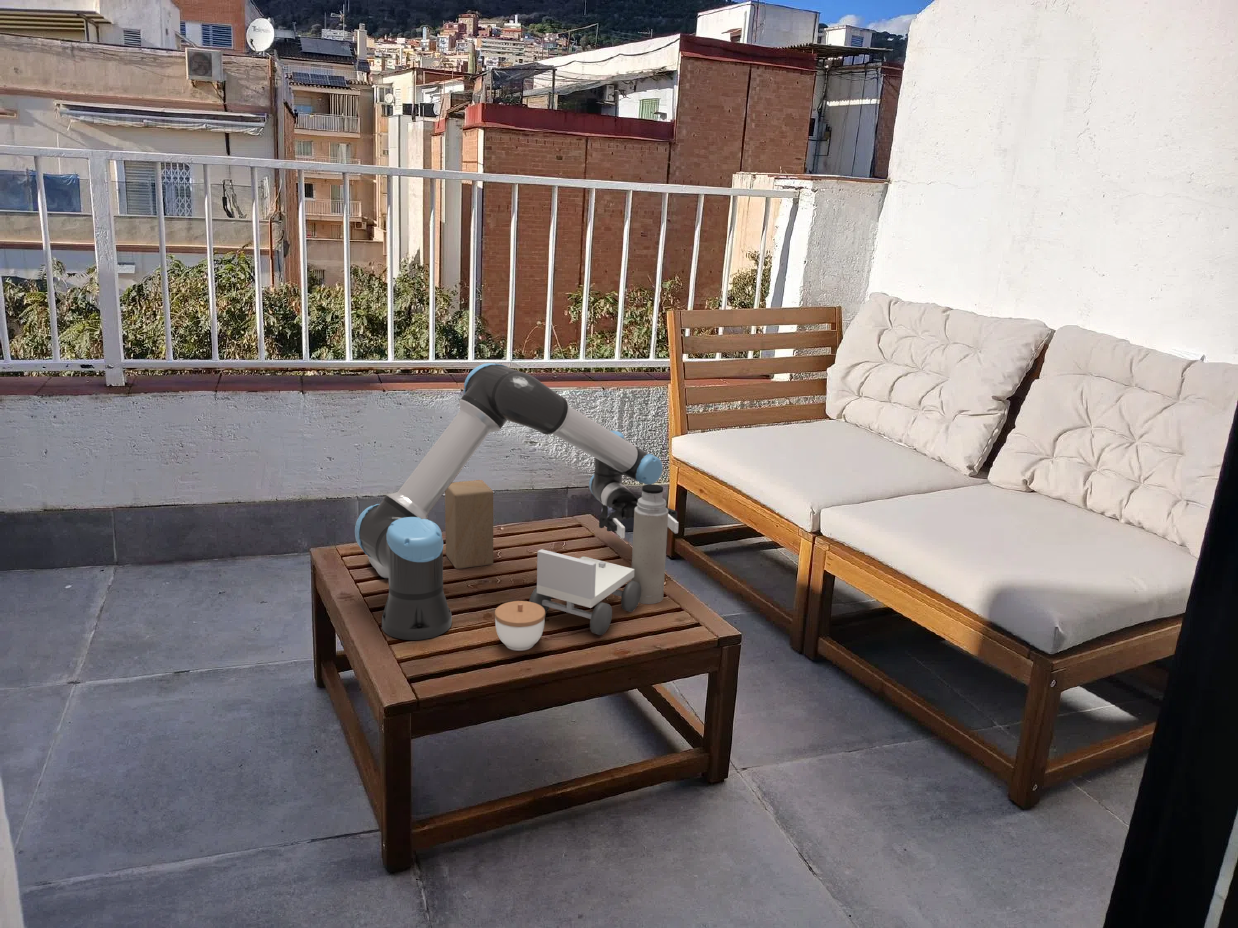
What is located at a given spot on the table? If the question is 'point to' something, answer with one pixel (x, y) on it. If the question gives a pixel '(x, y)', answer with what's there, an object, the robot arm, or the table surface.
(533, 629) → the lidded jar
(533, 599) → the trolley
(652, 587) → the thermos bottle
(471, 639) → the table surface
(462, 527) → the wooden block
